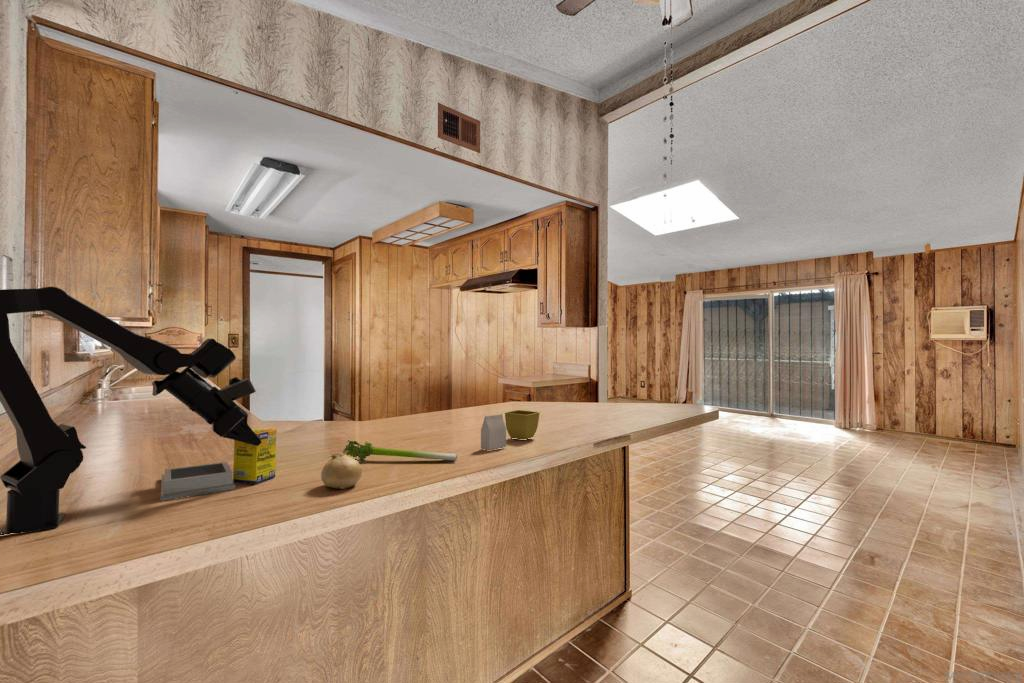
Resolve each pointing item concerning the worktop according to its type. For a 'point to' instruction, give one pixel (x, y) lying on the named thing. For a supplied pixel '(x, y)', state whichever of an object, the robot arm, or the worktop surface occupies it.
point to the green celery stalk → (391, 452)
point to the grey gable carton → (493, 432)
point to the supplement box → (255, 458)
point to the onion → (341, 472)
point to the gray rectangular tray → (196, 480)
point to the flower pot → (521, 423)
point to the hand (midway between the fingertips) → (256, 440)
